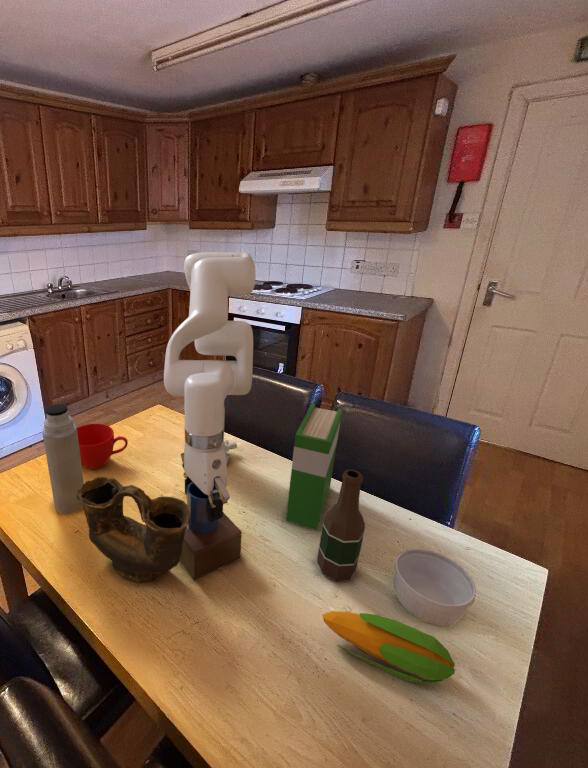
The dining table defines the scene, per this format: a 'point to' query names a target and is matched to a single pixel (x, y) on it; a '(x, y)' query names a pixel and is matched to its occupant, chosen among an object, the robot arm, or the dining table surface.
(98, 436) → the ceramic cup
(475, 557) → the dining table surface
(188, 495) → the cup
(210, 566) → the box
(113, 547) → the pottery vessel
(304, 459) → the hardback book
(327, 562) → the beer bottle
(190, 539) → the box lid
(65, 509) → the thermos bottle
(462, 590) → the ramekin
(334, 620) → the corn
